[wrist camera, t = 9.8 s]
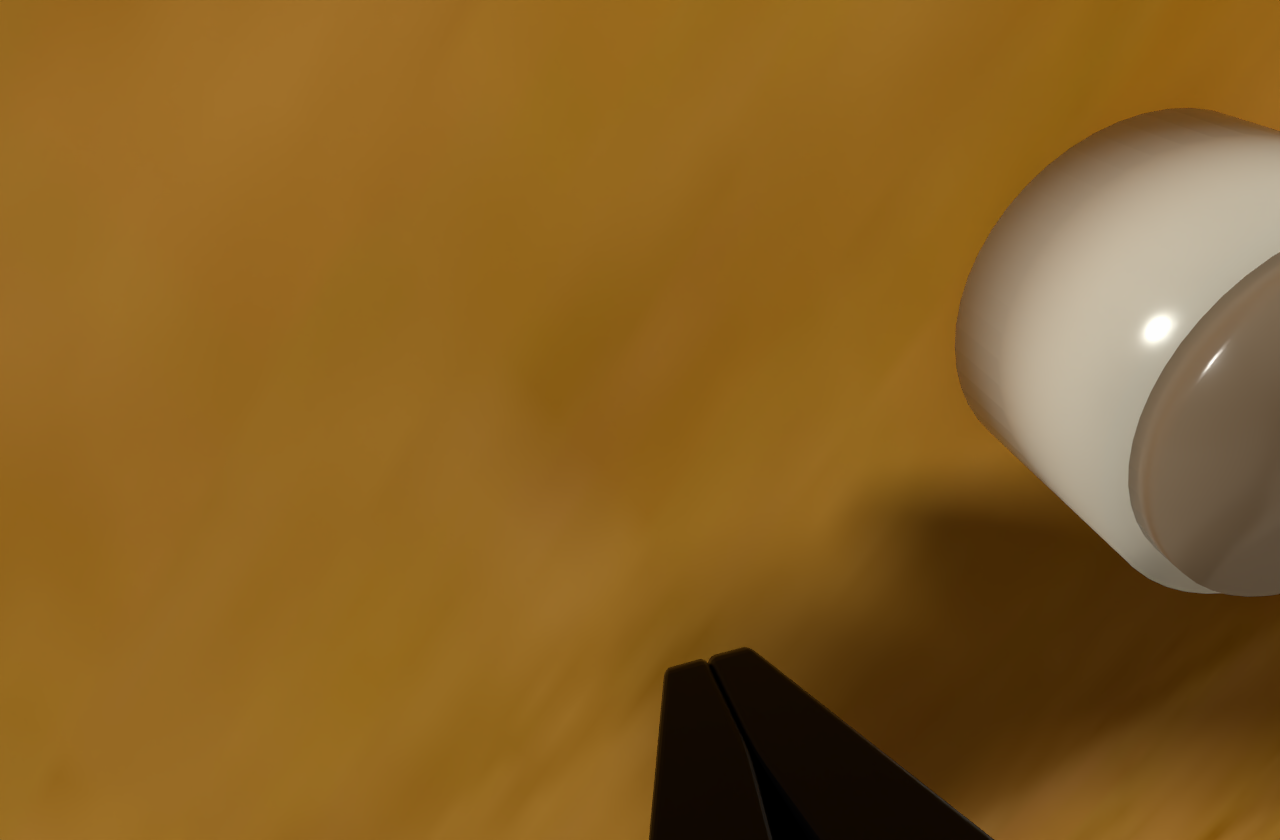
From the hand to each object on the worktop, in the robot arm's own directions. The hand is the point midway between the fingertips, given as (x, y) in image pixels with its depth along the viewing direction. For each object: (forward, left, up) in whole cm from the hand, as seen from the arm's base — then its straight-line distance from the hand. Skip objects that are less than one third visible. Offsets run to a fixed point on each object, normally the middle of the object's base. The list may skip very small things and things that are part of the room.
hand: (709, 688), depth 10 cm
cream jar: (0, -8, -5) cm, 9 cm away
